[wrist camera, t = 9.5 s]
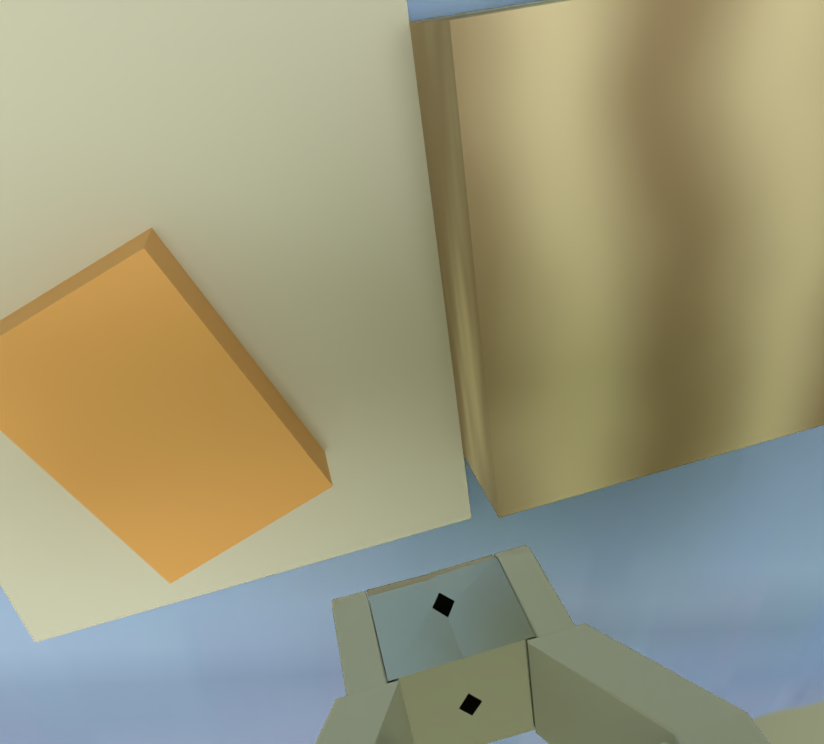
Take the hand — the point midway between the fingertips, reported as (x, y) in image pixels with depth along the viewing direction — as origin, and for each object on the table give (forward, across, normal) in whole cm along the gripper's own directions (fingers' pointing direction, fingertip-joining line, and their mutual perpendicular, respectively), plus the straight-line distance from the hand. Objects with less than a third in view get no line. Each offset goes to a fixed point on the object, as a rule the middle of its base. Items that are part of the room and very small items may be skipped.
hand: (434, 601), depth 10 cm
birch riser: (+13, +10, 0) cm, 16 cm away
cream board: (+12, -4, 0) cm, 13 cm away
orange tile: (+12, -6, -2) cm, 13 cm away
